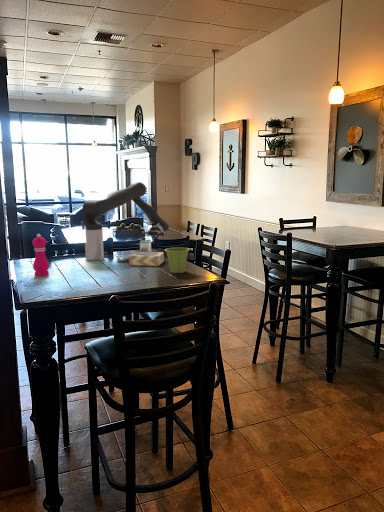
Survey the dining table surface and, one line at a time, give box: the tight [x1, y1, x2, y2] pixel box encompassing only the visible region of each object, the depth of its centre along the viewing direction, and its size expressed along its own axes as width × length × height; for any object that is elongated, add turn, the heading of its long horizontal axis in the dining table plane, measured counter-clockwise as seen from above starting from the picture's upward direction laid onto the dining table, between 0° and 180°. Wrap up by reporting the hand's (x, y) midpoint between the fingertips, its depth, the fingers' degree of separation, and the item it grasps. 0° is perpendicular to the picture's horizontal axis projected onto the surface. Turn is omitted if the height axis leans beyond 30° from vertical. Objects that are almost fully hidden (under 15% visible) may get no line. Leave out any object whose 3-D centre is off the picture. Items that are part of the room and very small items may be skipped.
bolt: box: [117, 255, 130, 263], centre depth 228 cm, size 8×3×3 cm, turn 103°
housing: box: [139, 239, 152, 252], centre depth 237 cm, size 5×7×10 cm
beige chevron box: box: [128, 251, 165, 267], centre depth 224 cm, size 16×13×5 cm
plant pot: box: [164, 247, 190, 274], centre depth 201 cm, size 12×12×11 cm
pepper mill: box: [32, 233, 50, 278], centre depth 195 cm, size 7×7×20 cm
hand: (150, 235), depth 248 cm, fingers open, 8 cm apart
